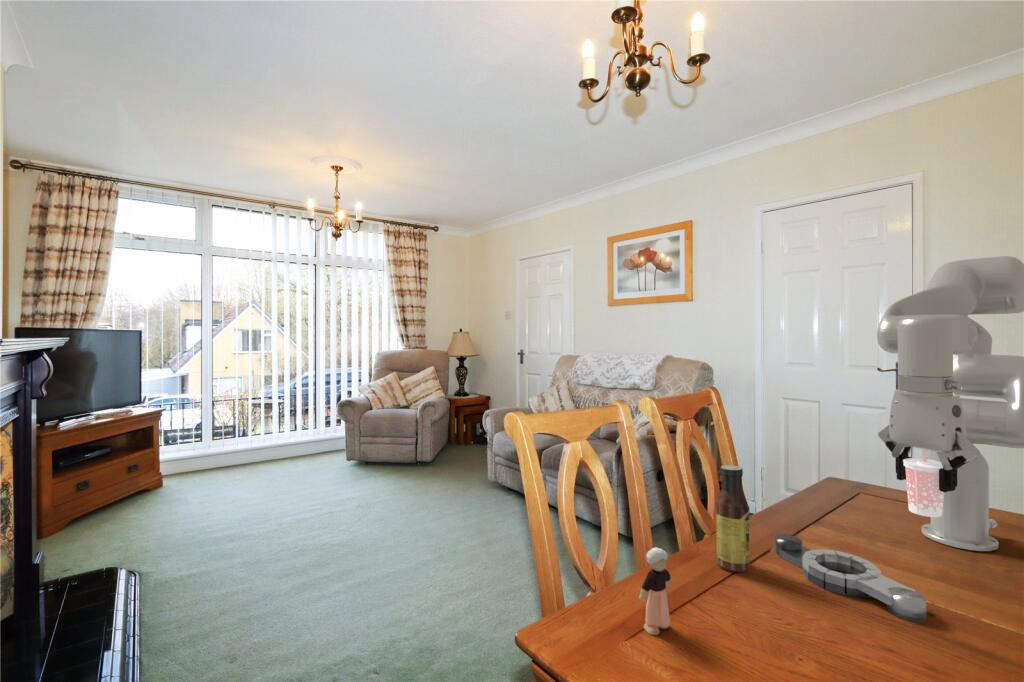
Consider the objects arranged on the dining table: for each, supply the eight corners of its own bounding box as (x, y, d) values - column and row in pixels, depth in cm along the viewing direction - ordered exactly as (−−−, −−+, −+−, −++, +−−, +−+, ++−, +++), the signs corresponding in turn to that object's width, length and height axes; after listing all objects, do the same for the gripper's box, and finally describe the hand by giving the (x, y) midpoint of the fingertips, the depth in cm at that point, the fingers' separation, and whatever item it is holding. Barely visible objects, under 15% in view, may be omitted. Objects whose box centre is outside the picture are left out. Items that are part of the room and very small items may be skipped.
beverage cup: (956, 515, 85) (956, 436, 84) (934, 521, 83) (933, 440, 82) (916, 503, 90) (916, 430, 90) (895, 508, 88) (894, 433, 88)
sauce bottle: (754, 575, 93) (754, 473, 93) (720, 572, 94) (719, 471, 94) (745, 559, 99) (744, 464, 99) (713, 557, 101) (712, 462, 100)
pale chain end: (833, 560, 98) (833, 545, 98) (948, 614, 79) (948, 596, 79) (788, 569, 95) (788, 554, 95) (897, 629, 76) (897, 610, 76)
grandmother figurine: (658, 642, 73) (657, 560, 73) (635, 632, 76) (634, 552, 76) (679, 620, 79) (679, 543, 79) (657, 611, 81) (657, 536, 81)
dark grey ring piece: (799, 544, 106) (799, 530, 106) (896, 589, 87) (896, 573, 87) (756, 552, 102) (756, 538, 102) (847, 602, 83) (847, 585, 83)
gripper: (999, 389, 79) (999, 497, 79) (888, 379, 95) (889, 469, 96) (969, 392, 76) (969, 504, 77) (861, 381, 93) (861, 473, 93)
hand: (925, 483), depth 86 cm, fingers closed on beverage cup, 6 cm apart
